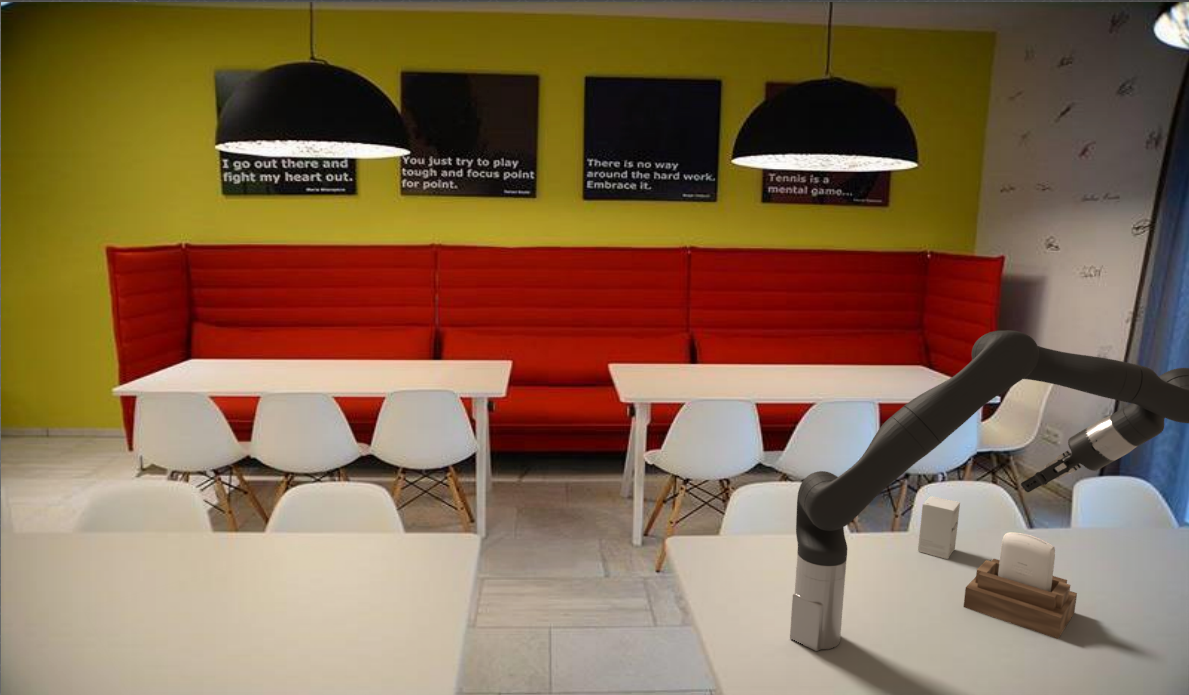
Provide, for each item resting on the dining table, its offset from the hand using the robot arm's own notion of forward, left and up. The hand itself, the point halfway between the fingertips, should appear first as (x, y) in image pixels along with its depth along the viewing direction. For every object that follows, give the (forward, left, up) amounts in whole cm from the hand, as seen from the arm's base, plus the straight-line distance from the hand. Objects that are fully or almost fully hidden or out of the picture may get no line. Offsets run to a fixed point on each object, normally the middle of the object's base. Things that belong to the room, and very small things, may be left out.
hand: (1031, 483), depth 162 cm
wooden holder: (+1, 0, -29) cm, 29 cm away
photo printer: (+1, 0, -24) cm, 24 cm away
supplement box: (+17, +25, -29) cm, 42 cm away
